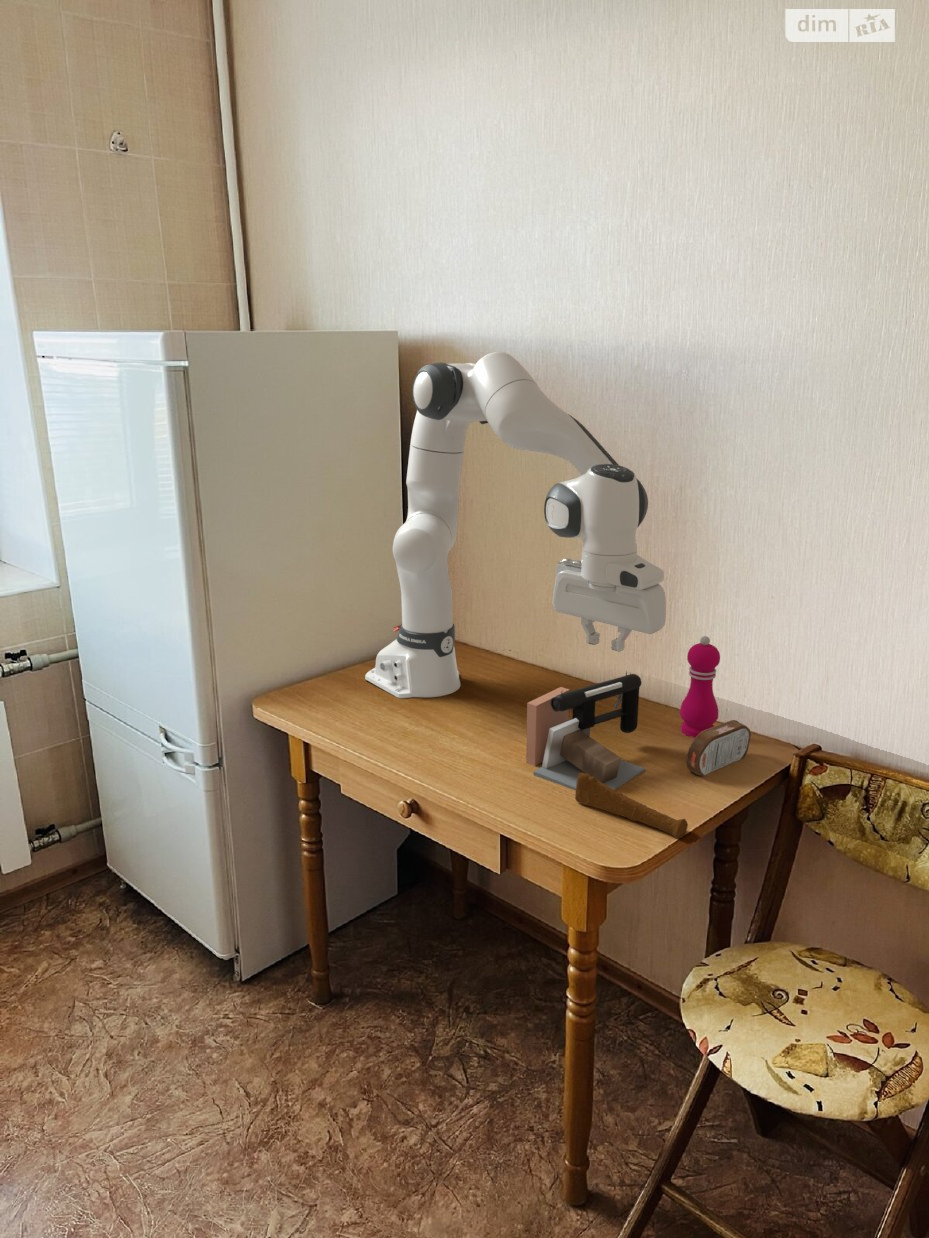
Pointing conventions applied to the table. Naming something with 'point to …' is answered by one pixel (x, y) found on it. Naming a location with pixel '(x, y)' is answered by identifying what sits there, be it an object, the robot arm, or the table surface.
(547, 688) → the table surface
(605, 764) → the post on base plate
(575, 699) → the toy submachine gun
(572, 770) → the mat
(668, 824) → the primitive tool
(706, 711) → the pepper mill
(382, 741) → the table surface
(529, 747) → the tile
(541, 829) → the table surface
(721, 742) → the tin
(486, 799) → the table surface
